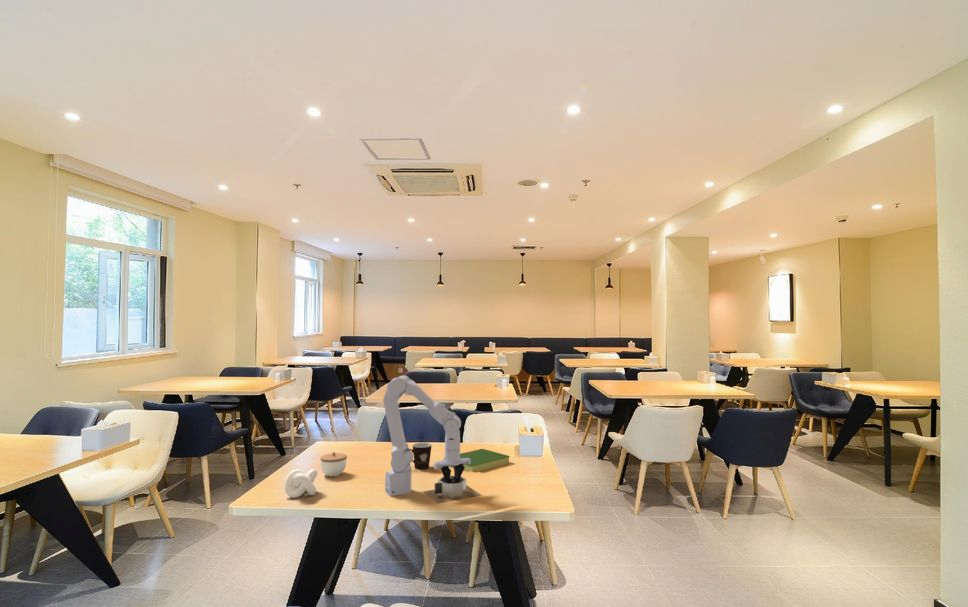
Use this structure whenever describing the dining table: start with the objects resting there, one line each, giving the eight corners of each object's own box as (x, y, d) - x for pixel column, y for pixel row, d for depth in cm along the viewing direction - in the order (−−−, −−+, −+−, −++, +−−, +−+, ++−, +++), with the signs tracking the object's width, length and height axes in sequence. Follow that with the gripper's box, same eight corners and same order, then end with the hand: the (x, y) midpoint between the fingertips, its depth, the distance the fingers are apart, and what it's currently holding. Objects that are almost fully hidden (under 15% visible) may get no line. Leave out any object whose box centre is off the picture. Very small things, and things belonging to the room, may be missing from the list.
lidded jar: (319, 479, 196) (319, 456, 196) (321, 471, 206) (321, 450, 207) (346, 477, 199) (346, 454, 199) (346, 470, 209) (347, 448, 209)
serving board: (437, 505, 167) (437, 503, 167) (422, 493, 179) (422, 491, 179) (481, 497, 176) (482, 495, 176) (465, 486, 188) (465, 484, 188)
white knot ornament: (282, 502, 170) (282, 476, 170) (286, 491, 181) (286, 467, 182) (315, 499, 173) (316, 474, 173) (317, 488, 184) (317, 465, 185)
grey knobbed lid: (447, 495, 173) (447, 482, 173) (439, 490, 179) (439, 476, 179) (464, 492, 176) (465, 479, 177) (456, 487, 183) (456, 474, 183)
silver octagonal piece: (440, 500, 170) (440, 486, 170) (430, 492, 179) (430, 478, 179) (469, 495, 176) (469, 481, 176) (458, 487, 184) (458, 474, 185)
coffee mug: (433, 465, 217) (433, 443, 218) (429, 470, 209) (429, 447, 209) (408, 464, 218) (408, 442, 219) (403, 469, 210) (403, 446, 210)
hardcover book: (482, 456, 235) (482, 448, 236) (509, 464, 222) (509, 456, 222) (442, 465, 218) (443, 457, 218) (470, 475, 205) (470, 466, 205)
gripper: (439, 453, 172) (438, 491, 171) (474, 449, 179) (474, 485, 178) (431, 449, 178) (431, 486, 177) (466, 445, 185) (465, 480, 184)
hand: (452, 485), depth 178 cm, fingers closed on grey knobbed lid, 3 cm apart
